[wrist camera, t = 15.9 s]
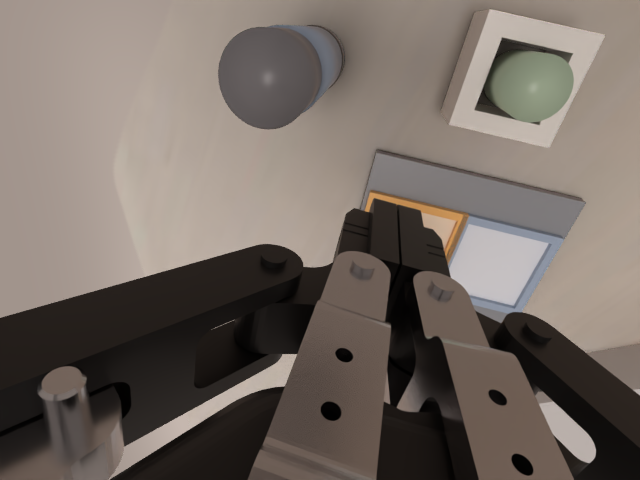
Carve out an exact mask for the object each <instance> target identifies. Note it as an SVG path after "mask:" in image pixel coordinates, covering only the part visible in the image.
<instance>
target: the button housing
mask: <svg viewBox="0 0 640 480" xmlns="http://www.w3.org/2000/svg"><path fill="white" fill-rule="evenodd" d="M604 37H605V35H604V34H599V33H595V32H590V31H586V30H582V29H577V28H573V27H568V26H564V25H559V24H555V23H550V22H546V21H541V20H537V19H532V18H528V17H524V16H519V15H515V14H510V13H506V12H501V11H497V10H492V9H488V10H483V11H477V12H474V15H473V18H472V21H471V24H470V27H469V30H468V33H467V36H466V39H465V42H464V44H463V47H462V50H461V53H460V56H459V59H458V62H457V65H456V68H455V71H454V74H453V77H452V80H451V83H450V85H449V88H448V91H447V94H446V97H445V100H444V103H443V106H442V109H441V114H442V115H443V117H444V118H445V120H446V121H447V123H448V124H449V125H452V126H457V127H461V128H465V129H469V130H474V131H478V132H482V133H486V134H491V135H495V136H499V137H504V138H508V139H512V140H516V141H521V142H525V143H529V144H533V145H538V146H542V147H546V148H549V147H550V145H551V143H552V141H553V139H554V137H555V135H556V133H557V131H558V129H559V127H560V125H561V123H562V121H563V119H564V117H565V115H566V113H567V111H568V109H569V107H570V105H571V103H572V101H573V99H574V97H575V95H576V93H577V91H578V89H579V87H580V85H581V83H582V81H583V79H584V77H585V75H586V73H587V71H588V69H589V67H590V65H591V63H592V61H593V59H594V57H595V55H596V53H597V51H598V49H599V47H600V45H601V43H602V41H603V39H604ZM501 40H504V41H509V42H513V43H517V44H522V45H526V46H531V47H535V48H539V49H544V50H546V51H545V53H549V54H554V55H558V56H560V57H562V58H563V59H564V60H565V61H566V62H567V63H568V64H569V65H570V67H571V69H572V72H573V77H574V84H573V89H572V92H571V95H570V97H569V99H568V101H567V102H566V103H565V105H564V106H563V107H562V108H561V109H560V110H559V111H558V112H557V113H556V114H554V115H553V116H551V117H549V118H547V119H545V120H542V121H539V122H532V123H531V122H522V121H519V120H517V119H515V118H514V117H512V116H511V115H509V114H508V113H506V112H505V111H503V110H502V109H500V108H498V107H493V106H489V105H485V104H480V103H477V102H478V99H479V96H480V94H481V91H482V88H483V86H484V83H485V81H486V78H487V75H488V73H489V70H490V68H491V65H492V62H493V60H494V57H495V55H496V52H497V49H498V47H499V44H500V41H501Z"/></svg>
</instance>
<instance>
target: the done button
mask: <svg viewBox="0 0 640 480" xmlns="http://www.w3.org/2000/svg"><path fill="white" fill-rule="evenodd" d="M573 84H574V77H573V72H572V69H571V67H570V65H569V64H568V63H567V62H566V61H565V60H564V59H563V58H562V57H560V56H558V55H554V54H549V53H542V52H535V51H528V50H521V49H516V50H511V51H507V52H505V53H503V54H501V55H500V56H498V57H497V58H496V59H495V60H494V61H493V62H492V65H491V68H490V70H489V73H488V75H487V78H486V81H485V83H484V92H485V94H486V96H487V98H488V99H489V101H491V102H492V103H493V104H495V105H496V106H497V107H499V108H500V109H502V110H503V111H505V112H506V113H508V114H509V115H511V116H512V117H514V118H515V119H517V120H519V121H522V122H531V123H532V122H539V121H542V120H545V119H547V118H549V117H551V116H553V115H554V114H556V113H557V112H558V111H559V110H560V109H561V108H562V107H563V106H564V105H565V103H566V102H567V101H568V99H569V97H570V95H571V92H572V89H573Z"/></svg>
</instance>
